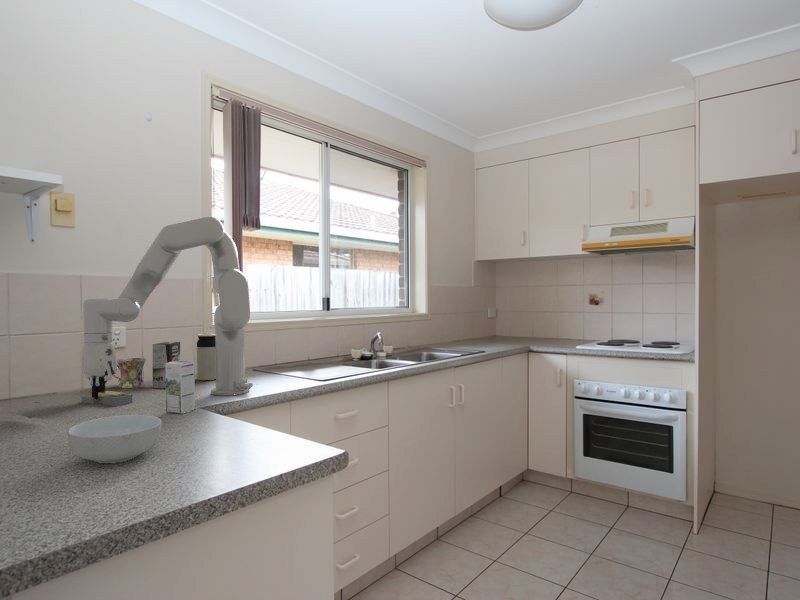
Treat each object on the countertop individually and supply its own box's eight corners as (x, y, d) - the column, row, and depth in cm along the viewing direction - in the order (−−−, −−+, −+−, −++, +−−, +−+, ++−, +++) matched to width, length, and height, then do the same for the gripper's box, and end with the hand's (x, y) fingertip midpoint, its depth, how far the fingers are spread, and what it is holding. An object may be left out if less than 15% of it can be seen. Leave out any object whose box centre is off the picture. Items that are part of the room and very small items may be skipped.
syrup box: (195, 409, 144) (195, 360, 144) (180, 414, 139) (180, 363, 139) (180, 408, 146) (180, 359, 146) (164, 412, 141) (164, 362, 141)
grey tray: (158, 400, 157) (158, 388, 157) (85, 417, 135) (85, 404, 135) (126, 396, 163) (126, 385, 163) (50, 412, 141) (50, 399, 141)
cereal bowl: (59, 477, 92) (58, 439, 91) (77, 451, 107) (77, 418, 107) (160, 464, 98) (159, 429, 98) (163, 441, 114) (163, 411, 113)
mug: (147, 385, 182) (147, 357, 182) (144, 390, 173) (144, 360, 173) (111, 388, 178) (110, 358, 178) (105, 392, 169) (105, 362, 169)
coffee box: (169, 388, 177) (169, 343, 177) (151, 388, 177) (151, 343, 177) (181, 383, 186) (181, 341, 186) (164, 383, 186) (164, 341, 186)
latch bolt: (125, 402, 148) (125, 392, 148) (116, 404, 145) (116, 394, 145) (107, 400, 151) (107, 390, 151) (98, 402, 148) (98, 392, 148)
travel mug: (198, 381, 191) (198, 335, 190) (195, 378, 197) (195, 333, 197) (219, 379, 195) (219, 334, 194) (216, 376, 201) (216, 333, 201)
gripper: (126, 338, 151) (126, 398, 151) (93, 336, 157) (93, 394, 157) (103, 340, 144) (103, 403, 144) (69, 338, 150) (70, 398, 150)
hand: (98, 398), depth 150 cm, fingers closed
